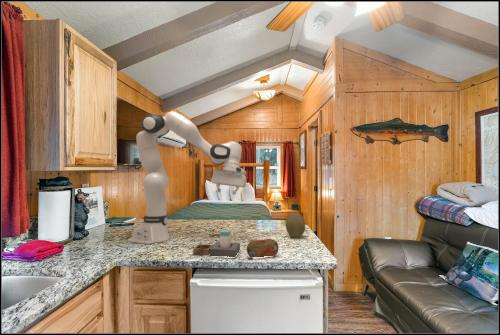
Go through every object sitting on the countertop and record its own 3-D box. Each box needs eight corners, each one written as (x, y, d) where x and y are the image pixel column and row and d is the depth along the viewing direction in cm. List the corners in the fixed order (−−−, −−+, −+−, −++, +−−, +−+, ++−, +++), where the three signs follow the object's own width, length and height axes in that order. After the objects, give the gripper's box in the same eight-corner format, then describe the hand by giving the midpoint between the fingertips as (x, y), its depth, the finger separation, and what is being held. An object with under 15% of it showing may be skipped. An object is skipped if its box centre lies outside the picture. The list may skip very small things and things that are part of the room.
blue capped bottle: (220, 255, 120) (220, 231, 120) (222, 252, 124) (222, 229, 124) (228, 255, 119) (228, 232, 119) (230, 253, 123) (230, 230, 123)
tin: (247, 260, 113) (247, 241, 113) (245, 258, 116) (245, 239, 116) (278, 257, 117) (278, 238, 117) (276, 254, 120) (276, 237, 120)
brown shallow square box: (193, 255, 120) (193, 248, 120) (198, 250, 127) (198, 244, 127) (208, 255, 119) (208, 249, 119) (213, 250, 126) (213, 244, 126)
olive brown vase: (287, 239, 146) (287, 213, 146) (284, 235, 157) (284, 210, 157) (307, 239, 146) (307, 213, 147) (302, 234, 158) (302, 210, 158)
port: (209, 257, 116) (209, 248, 116) (216, 249, 128) (216, 241, 128) (235, 259, 115) (235, 250, 115) (240, 250, 126) (240, 242, 126)
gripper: (212, 166, 145) (207, 189, 142) (245, 169, 139) (241, 194, 136) (216, 168, 151) (211, 191, 148) (248, 172, 145) (244, 196, 142)
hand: (226, 193), depth 142 cm, fingers open, 8 cm apart
